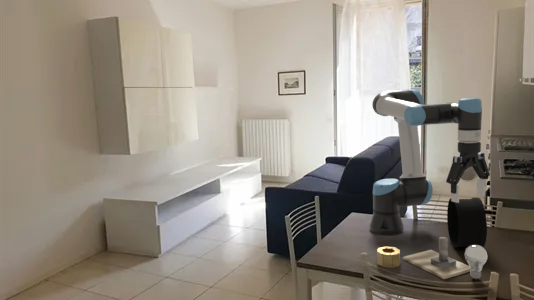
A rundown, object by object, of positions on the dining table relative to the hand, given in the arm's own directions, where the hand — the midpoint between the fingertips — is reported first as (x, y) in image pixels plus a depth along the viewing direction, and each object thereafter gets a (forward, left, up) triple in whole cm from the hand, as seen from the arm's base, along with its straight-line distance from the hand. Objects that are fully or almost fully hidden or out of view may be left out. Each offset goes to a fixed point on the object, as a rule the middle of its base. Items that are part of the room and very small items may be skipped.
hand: (468, 198), depth 154 cm
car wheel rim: (-10, +11, -24) cm, 29 cm away
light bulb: (+12, -10, -24) cm, 29 cm away
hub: (-13, -26, -24) cm, 38 cm away
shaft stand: (-3, -12, -24) cm, 27 cm away
